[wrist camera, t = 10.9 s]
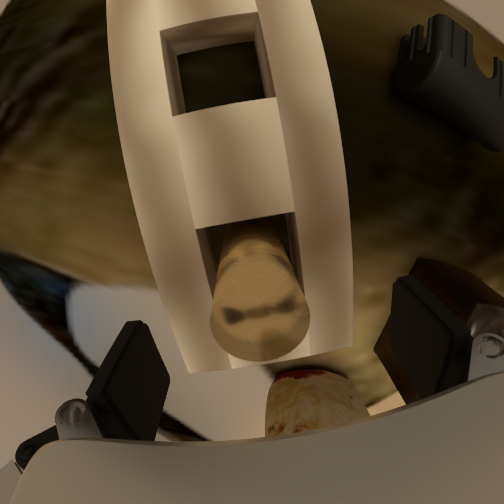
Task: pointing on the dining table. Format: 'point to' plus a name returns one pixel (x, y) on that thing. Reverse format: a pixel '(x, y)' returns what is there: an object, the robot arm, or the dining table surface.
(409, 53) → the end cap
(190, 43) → the board
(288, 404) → the food model
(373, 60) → the dining table surface
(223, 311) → the pin
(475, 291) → the manual coffee grinder
